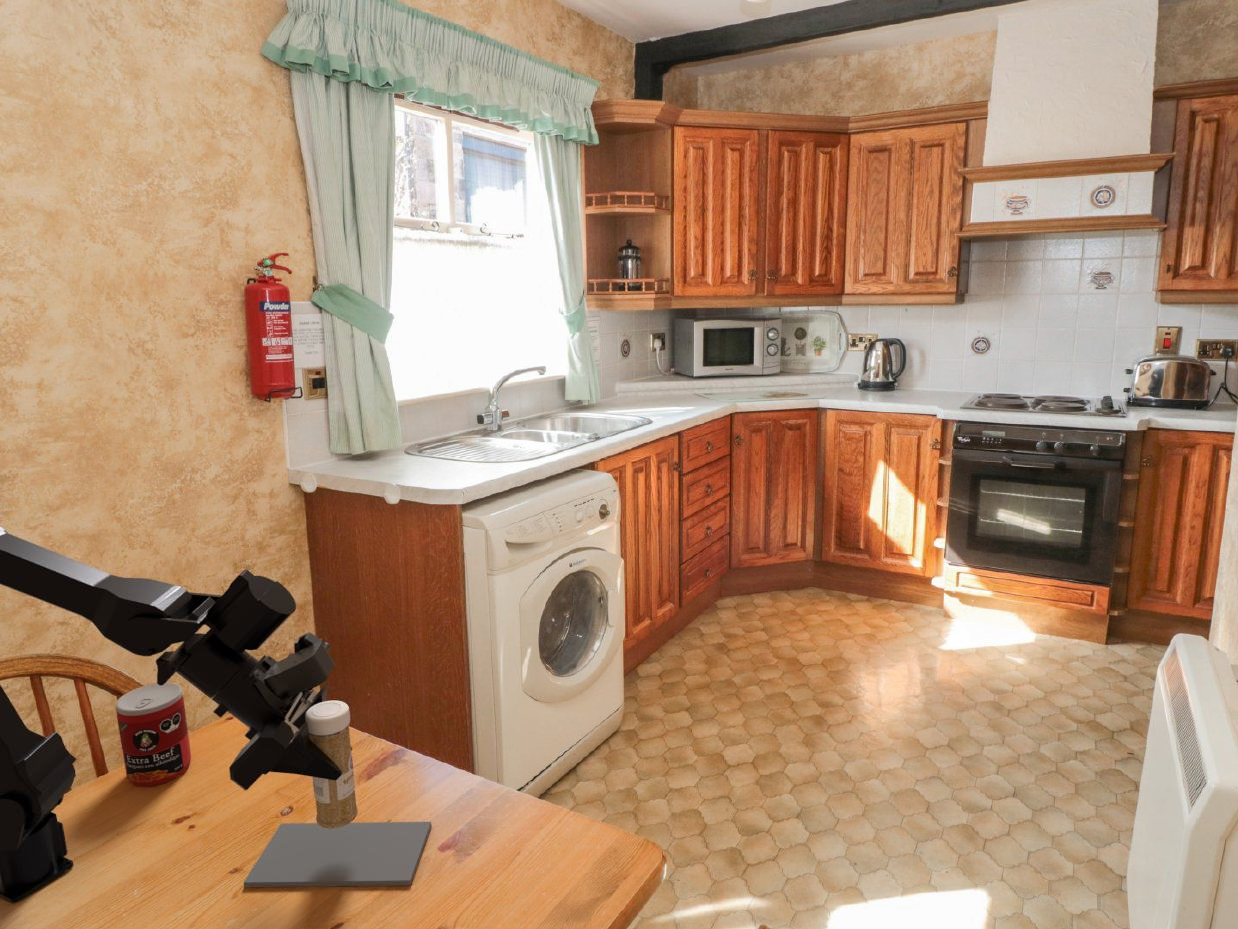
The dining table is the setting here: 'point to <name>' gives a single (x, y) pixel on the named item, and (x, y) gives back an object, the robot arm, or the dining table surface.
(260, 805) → the dining table surface
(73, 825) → the dining table surface
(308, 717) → the spice jar
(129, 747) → the canned food
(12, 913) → the dining table surface
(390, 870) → the charcoal mat
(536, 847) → the dining table surface
